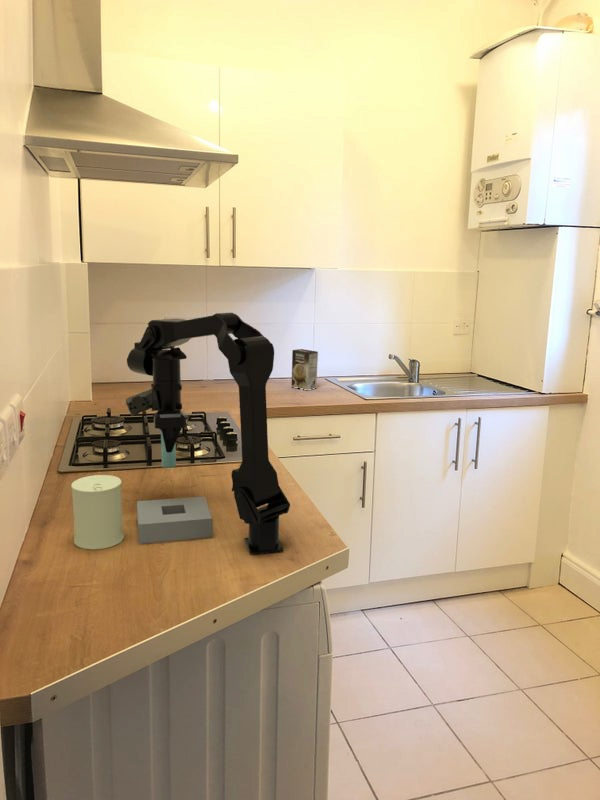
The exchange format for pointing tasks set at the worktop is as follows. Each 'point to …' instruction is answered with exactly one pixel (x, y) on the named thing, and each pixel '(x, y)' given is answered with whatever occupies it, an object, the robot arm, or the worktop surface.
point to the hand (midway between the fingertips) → (168, 449)
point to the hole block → (173, 520)
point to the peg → (167, 455)
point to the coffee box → (304, 368)
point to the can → (97, 511)
